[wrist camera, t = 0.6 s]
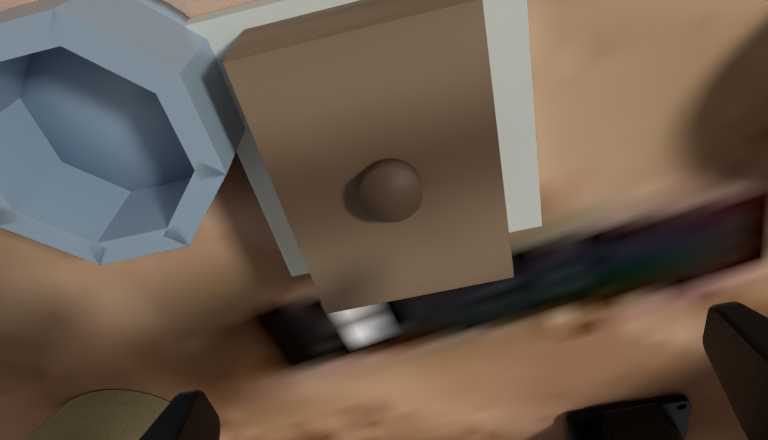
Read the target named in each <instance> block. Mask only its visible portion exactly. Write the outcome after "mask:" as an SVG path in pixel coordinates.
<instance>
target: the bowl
mask: <svg viewBox="0 0 768 440" xmlns="http://www.w3.org/2000/svg"><path fill="white" fill-rule="evenodd" d="M189 19H190V18H189V17H188V16H187V15H185V14H184V13H183V12H181V11H180V10H178V9H176V8H175V7H173V6H172V5H170V4H169V3H167V2H164V1H162V0H38V1H34V2H31V3H27V4H23V5H19V6H16V7H12V8H8V9H6V10H3V11H1V12H0V228H3V229H6V230H8V231H11V232H14V233H16V234H19V235H22V236H24V237H27V238H29V239H32V240H35V241H37V242H40V243H43V244H45V245H48V246H51V247H53V248H56V249H59V250H61V251H64V252H67V253H69V254H72V255H74V256H77V257H80V258H82V259H85V260H88V261H90V262H93V263H96V264H98V265H103V264H108V263H113V262H117V261H122V260H127V259H131V258H136V257H141V256H145V255H150V254H155V253H159V252H164V251H169V250H174V249H178V248H183V247H188V246H189V245H190V243H191V241H192V239H193V237H194V235H195V234H196V232H197V230H198V228H199V226H200V224H201V222H202V220H203V218H204V216H205V214H206V212H207V211H208V209H209V207H210V205H211V203H212V201H213V199H214V197H215V195H216V193H217V191H218V189H219V188H220V186H221V184H222V182H223V180H224V178H225V176H226V175H227V172H228V170H229V167H230V165H231V162H232V160H233V158H234V155H235V153H236V150H237V148H238V145H239V143H240V141H241V138H242V136H243V133H244V131H245V127H244V124H243V122H242V120H241V117H240V115H239V112H238V110H237V108H236V105H235V103H234V101H233V98H232V96H231V93H230V91H229V89H228V86H227V84H226V81H225V79H224V77H223V74H222V72H221V69H220V67H219V65H218V62H217V60H216V58H215V55H214V53H213V50H212V48H211V46H210V43H209V41H208V39H207V38H205V37H203V36H201V35H199V34H198V33H196V32H194V31H192V30H190V29H189V28H187V27H185V26H183V25H184V24H185V23H186V22H187V21H188V20H189Z"/></svg>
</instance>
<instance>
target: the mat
mask: <svg viewBox="0 0 768 440" xmlns="http://www.w3.org/2000/svg"><path fill="white" fill-rule="evenodd" d="M355 1H359V0H258V1H254V2H250V3H246V4H243V5H239V6H235V7H231V8H227V9H223V10H219V11H215V12H212V13H208V14H204V15H200V16H196V17H192V18H190V19H189V20H188V21H187V22H186V23H185V24H184V25H183V26H185V27H187V28H189V29H190V30H192V31H194V32H196V33H198V34H199V35H201V36H203V37H205V38H207V39H208V41H209V43H210V46H211V48H212V50H213V53H214V55H215V58H216V60H217V62H218V65H219V67H220V69H221V72H222V74H223V77H224V79H225V81H226V84H227V86H228V89H229V91H230V93H231V96H232V98H233V101H234V103H235V105H236V108H237V110H238V112H239V115H240V117H241V120H242V122H243V124H244V127H245V131H244V133H243V136H242V138H241V141H240V143H239V145H238V148H237V150H236V152H237V154H238V156H239V159H240V161H241V163H242V165H243V168H244V170H245V172H246V174H247V177H248V179H249V181H250V183H251V186H252V188H253V190H254V193H255V195H256V197H257V199H258V202H259V204H260V206H261V208H262V211H263V213H264V215H265V217H266V220H267V222H268V224H269V226H270V229H271V231H272V233H273V236H274V238H275V240H276V242H277V245H278V247H279V249H280V251H281V254H282V256H283V258H284V260H285V263H286V265H287V267H288V269H289V272H290V274H291V276H297V275H302V274H307V273H309V271H308V268H307V266H306V263H305V261H304V258H303V256H302V254H301V251H300V249H299V246H298V244H297V242H296V239H295V237H294V234H293V232H292V229H291V227H290V225H289V222H288V220H287V217H286V215H285V213H284V210H283V208H282V205H281V203H280V200H279V198H278V196H277V193H276V191H275V188H274V186H273V183H272V181H271V179H270V176H269V174H268V171H267V169H266V167H265V164H264V162H263V159H262V157H261V154H260V152H259V150H258V147H257V145H256V142H255V140H254V137H253V135H252V133H251V130H250V128H249V125H248V123H247V121H246V118H245V116H244V113H243V111H242V108H241V106H240V104H239V101H238V99H237V96H236V94H235V91H234V89H233V87H232V84H231V82H230V79H229V77H228V75H227V72H226V70H225V67H224V65H223V62H224V60H225V59H226V57H227V56H228V54H229V53H230V51H231V49H232V48H233V46H234V45H235V43H236V42H237V40H238V39H239V37H240V35H241V34H242V32H243V31H244V29H248V28H252V27H256V26H260V25H264V24H268V23H272V22H276V21H280V20H284V19H288V18H292V17H296V16H300V15H304V14H308V13H312V12H316V11H319V10H323V9H327V8H331V7H335V6H339V5H343V4H347V3H351V2H355ZM483 8H484V17H485V26H486V35H487V44H488V52H489V61H490V70H491V79H492V88H493V96H494V105H495V114H496V123H497V132H498V141H499V149H500V158H501V167H502V176H503V185H504V193H505V202H506V211H507V220H508V229H509V232H514V231H519V230H524V229H529V228H534V227H538V226H542V221H541V206H540V191H539V176H538V161H537V146H536V132H535V117H534V102H533V87H532V72H531V57H530V43H529V28H528V13H527V0H483Z"/></svg>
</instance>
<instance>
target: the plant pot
mask: <svg viewBox="0 0 768 440" xmlns="http://www.w3.org/2000/svg"><path fill="white" fill-rule="evenodd" d="M169 403H170V402H168V401H166V400H164V399H161V398H159V397H156V396H153V395H149V394H146V393H141V392H135V391H126V390H105V391H96V392H91V393H87V394H84V395H81V396H79V397H76V398H74V399H72V400H70V401H69V402H68V403H66V404H65V405H64V406H63V407H61V408H60V409H59V410H58V411H57V412H56V413H54V414H53V415H52V416H51V417H50V418H49V419H48V420H47V421H45V422H44V423H43V424H42V425H41V426H40V427H39V428H38V429H36V430H35V431H34V432H33V433H32V434H31V435H30V436H29V437H27V438H26V439H25V440H139V439H140V437H141V436H142V435H143V434H144V433H145V432H146V430H147V429H148V428H149V427H150V426H151V424H152V423H153V422H154V421H155V420H156V418H157V417H158V416H159V415H160V414H161V413H162V411H163V410H164V409H165V408H166V407H167V405H168V404H169Z"/></svg>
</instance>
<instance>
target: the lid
mask: <svg viewBox="0 0 768 440" xmlns="http://www.w3.org/2000/svg"><path fill="white" fill-rule="evenodd" d="M223 65H224V67H225V70H226V72H227V75H228V77H229V79H230V82H231V84H232V87H233V89H234V91H235V94H236V96H237V99H238V101H239V104H240V106H241V108H242V111H243V113H244V116H245V118H246V121H247V123H248V125H249V128H250V130H251V133H252V135H253V137H254V140H255V142H256V145H257V147H258V150H259V152H260V154H261V157H262V159H263V162H264V164H265V167H266V169H267V171H268V174H269V176H270V179H271V181H272V183H273V186H274V188H275V191H276V193H277V196H278V198H279V200H280V203H281V205H282V208H283V210H284V213H285V215H286V217H287V220H288V222H289V225H290V227H291V229H292V232H293V234H294V237H295V239H296V242H297V244H298V246H299V249H300V251H301V254H302V256H303V258H304V261H305V263H306V266H307V268H308V271H309V273H310V275H311V278H312V280H313V283H314V285H315V288H316V290H317V292H318V295H319V297H320V300H321V302H322V304H323V307H324V309H325V312H326V314H327V313H332V312H337V311H343V310H348V309H353V308H358V307H363V306H368V305H373V304H379V303H384V302H389V301H394V300H399V299H404V298H409V297H415V296H420V295H425V294H430V293H435V292H440V291H445V290H450V289H456V288H461V287H466V286H471V285H476V284H481V283H486V282H492V281H497V280H502V279H507V278H512V277H514V273H513V264H512V255H511V246H510V237H509V229H508V220H507V211H506V202H505V193H504V185H503V176H502V167H501V158H500V149H499V141H498V132H497V123H496V114H495V105H494V96H493V88H492V79H491V70H490V61H489V52H488V44H487V35H486V26H485V17H484V8H483V0H359V1H355V2H351V3H347V4H343V5H339V6H335V7H331V8H327V9H323V10H319V11H316V12H312V13H308V14H304V15H300V16H296V17H292V18H288V19H284V20H280V21H276V22H272V23H268V24H264V25H260V26H256V27H252V28H248V29H244V31H243V32H242V34H241V35H240V37H239V39H238V40H237V42H236V43H235V45H234V46H233V48H232V49H231V51H230V53H229V54H228V56H227V57H226V59H225V60H224V62H223Z"/></svg>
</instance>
